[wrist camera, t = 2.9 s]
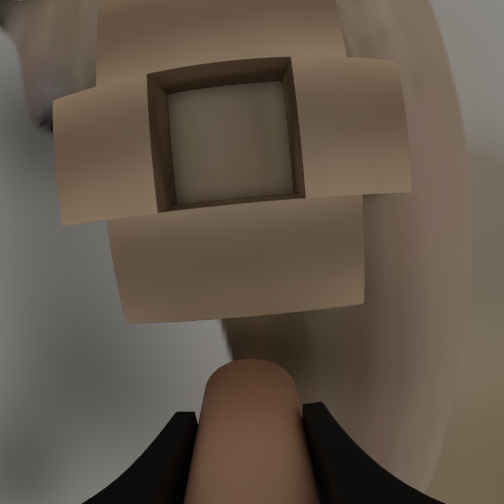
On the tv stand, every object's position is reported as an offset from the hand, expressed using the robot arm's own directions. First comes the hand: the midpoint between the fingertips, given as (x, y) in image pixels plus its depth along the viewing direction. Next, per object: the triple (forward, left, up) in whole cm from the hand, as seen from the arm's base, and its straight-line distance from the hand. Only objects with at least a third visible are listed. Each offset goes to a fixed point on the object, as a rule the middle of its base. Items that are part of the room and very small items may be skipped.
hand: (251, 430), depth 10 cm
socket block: (+10, 0, -6) cm, 11 cm away
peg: (0, 0, -2) cm, 2 cm away
